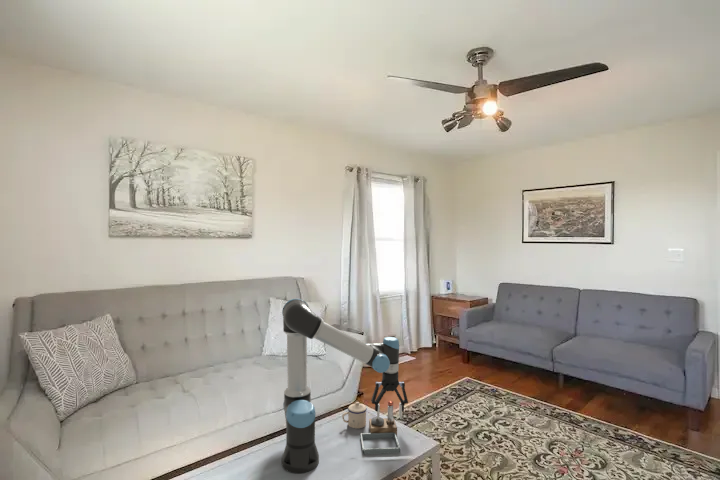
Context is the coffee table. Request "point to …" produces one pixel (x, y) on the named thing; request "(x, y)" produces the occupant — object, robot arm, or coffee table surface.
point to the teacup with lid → (356, 415)
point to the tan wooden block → (381, 426)
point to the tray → (379, 450)
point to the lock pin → (390, 413)
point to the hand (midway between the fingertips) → (389, 417)
